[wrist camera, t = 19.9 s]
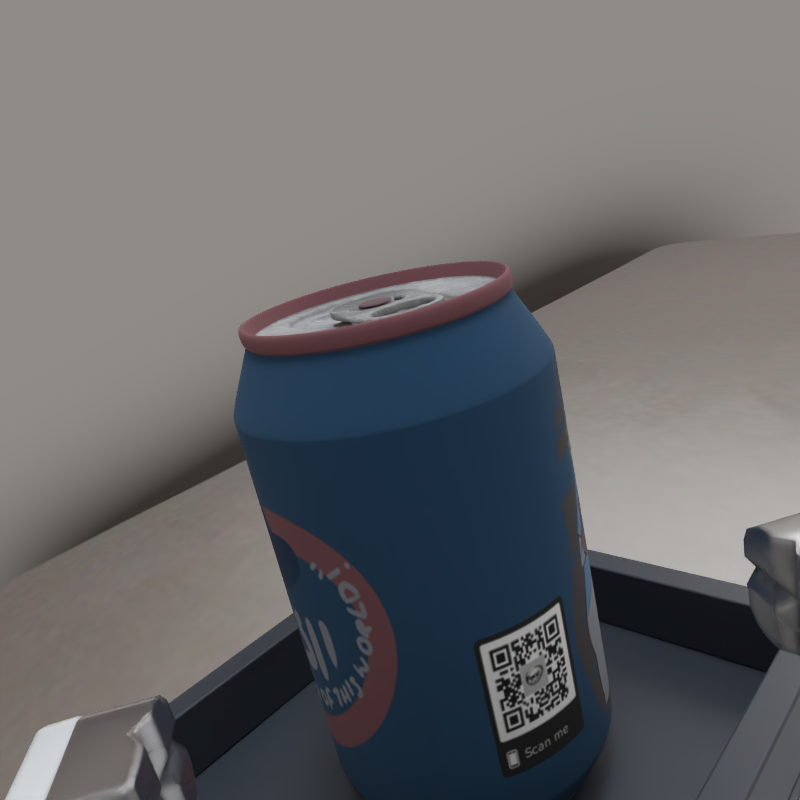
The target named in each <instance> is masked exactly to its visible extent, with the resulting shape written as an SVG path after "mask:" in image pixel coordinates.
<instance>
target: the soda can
mask: <svg viewBox="0 0 800 800" xmlns="http://www.w3.org/2000/svg"><path fill="white" fill-rule="evenodd" d="M512 284H513V278H512V273H511V270H510V268H509V267H508V266H507V265H506V264H503V263H500V262H492V261H469V262H456V263H447V264H440V265H433V266H426V267H420V268H414V269H408V270H403V271H399V272H394V273H388V274H384V275H379V276H375V277H370V278H366V279H362V280H358V281H354V282H350V283H346V284H342V285H339V286H335V287H332V288H329V289H325V290H321V291H318V292H315V293H312V294H308V295H305V296H302V297H300V298H297V299H294V300H291V301H288V302H285V303H283V304H280V305H278V306H275V307H273V308H271V309H268V310H266V311H264V312H262V313H260V314H258V315H256V316H254V317H252V318H250V319H249V320H247V321H246V322H244V323H243V324H242V325H241V326H240V327H239V337H240V340H241V343H242V344H243V346H244V347H245V348H246V349H245V355H244V360H243V365H242V370H241V375H240V380H239V385H238V391H237V396H236V402H235V409H234V422H235V425H236V428H237V431H238V435H239V438H240V441H241V444H242V448H243V451H244V454H245V457H246V461H247V464H248V467H249V470H250V474H251V477H252V480H253V483H254V486H255V490H256V493H257V496H258V499H259V503H260V506H261V509H262V512H263V516H264V519H265V522H266V525H267V528H268V532H269V535H270V538H271V541H272V545H273V548H274V551H275V554H276V557H277V561H278V564H279V567H280V570H281V574H282V577H283V580H284V583H285V587H286V590H287V593H288V596H289V599H290V603H291V606H292V609H293V612H294V616H295V619H296V622H297V625H298V629H299V632H300V635H301V638H302V641H303V645H304V648H305V651H306V654H307V658H308V661H309V664H310V667H311V671H312V674H313V677H314V680H315V683H316V687H317V690H318V693H319V696H320V700H321V703H322V706H323V709H324V712H325V716H326V719H327V722H328V725H329V729H330V732H331V735H332V738H333V742H334V745H335V748H336V751H337V754H338V758H339V761H340V763H341V766H342V768H343V770H344V772H345V774H346V776H347V778H348V779H349V781H350V782H351V784H352V785H353V786H354V787H355V789H356V790H357V791H358V792H359V793H360V794H361V795H362V796H363V797H364V798H365V799H366V800H570V799H571V798H572V797H573V795H574V794H575V792H576V791H577V790H578V788H579V787H580V785H581V784H582V783H583V781H584V780H585V778H586V777H587V775H588V774H589V772H590V771H591V769H592V768H593V766H594V764H595V762H596V761H597V759H598V757H599V755H600V753H601V751H602V749H603V746H604V744H605V741H606V738H607V735H608V732H609V727H610V723H611V714H612V701H611V693H610V687H609V681H608V675H607V668H606V662H605V656H604V650H603V644H602V638H601V632H600V626H599V619H598V613H597V607H596V601H595V595H594V589H593V583H592V577H591V570H590V564H589V558H588V552H587V546H586V540H585V534H584V528H583V522H582V515H581V509H580V503H579V497H578V491H577V485H576V479H575V473H574V466H573V460H572V454H571V448H570V442H569V436H568V430H567V424H566V417H565V411H564V405H563V399H562V393H561V387H560V381H559V375H558V368H557V362H556V356H555V350H554V346H553V343H552V342H551V340H550V338H549V337H548V336H547V334H546V333H545V331H544V330H543V329H542V327H541V326H540V325H539V323H538V322H537V321H536V319H535V318H534V317H533V315H532V314H531V313H530V312H529V310H528V309H527V307H526V306H525V305H524V304H523V302H522V301H521V300H520V298H519V297H518V296H517V294H516V293H515V292H514V291H513V289H512V288H511V287H512Z"/></svg>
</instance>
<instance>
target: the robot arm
mask: <svg viewBox="0 0 800 800" xmlns="http://www.w3.org/2000/svg"><path fill="white" fill-rule="evenodd" d="M744 553H745V557H746V558H747V559H748V560H749V561H750V562H752V563H753V564H754V565H755V566H756V568H755V570H754V572H753V574H752V575H751V577H750V579H749V581H748V583H747V588H748V596H749V604H750V607H751V609H752V612H753V614H754V617H755V619H756V621H757V624H758V625H759V627H760V628H761V630H762V631H763V632H764V634H765V635H766V637H767V638H768V639H769V640H770V641H771V642H772V643H773V644H774V645H775V646H776V647H778V648H779V649H780V650H783V651H786V652H789V653H792V654H795V655H798V656H800V513H798V514H794V515H791V516H788V517H784V518H781V519H778V520H775V521H771V522H768V523H765V524H761V525H758V526H755V527H751V528H748V529H747V530H746V533H745V537H744ZM174 725H175V718H174V716H173V713H172V711H171V709H170V706H169V704H168V702H167V700H166V699H165V698H163V697H162V696H160V695H158V696H154V697H151V698H147V699H143V700H139V701H135V702H131V703H128V704H124V705H120V706H116V707H112V708H109V709H105V710H101V711H97V712H93V713H90V714H86V715H84V716H78V717H74V718H71V719H68V720H64V721H61V722H57V723H54V724H50V725H47V726H45V727H43V728H42V729H40V730H39V731H38V732H37V733H36V735H35V737H34V739H33V741H32V743H31V745H30V748H29V750H28V752H27V754H26V756H25V758H24V760H23V762H22V764H21V767H20V769H19V771H18V773H17V775H16V777H15V779H14V781H13V783H12V786H11V788H10V790H9V792H8V794H7V796H6V798H5V800H197V790H196V779H195V775H194V770H193V766H192V762H191V759H190V757H189V754H188V751H187V749H186V747H184V746H183V745H181V744H179V743H178V742H176V741H174V740H173V739H172V735H173V730H174Z"/></svg>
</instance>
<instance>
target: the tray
mask: <svg viewBox="0 0 800 800" xmlns="http://www.w3.org/2000/svg"><path fill="white" fill-rule="evenodd" d="M587 552H588V558H589V564H590V570H591V577H592V583H593V589H594V595H595V601H596V607H597V613H598V619H599V626H600V632H601V638H602V644H603V650H604V656H605V662H606V668H607V675H608V681H609V687H610V693H611V701H612V714H611V723H610V727H609V732H608V735H607V738H606V741H605V744H604V746H603V749H602V751H601V753H600V755H599V757H598V759H597V761H596V762H595V764H594V766H593V768H592V769H591V771H590V772H589V774H588V775H587V777H586V778H585V780H584V781H583V783H582V784H581V785H580V787H579V788H578V790H577V791H576V792H575V794H574V795H573V797H572V798H571V799H570V800H798V799H799V797H800V656H798V655H795V654H792V653H789V652H786V651H783V650H780V649H779V648H778V647H776V646H775V645H774V644H773V643H772V642H771V641H770V640H769V639H768V638H767V637H766V635H765V634H764V632H763V631H762V630H761V628H760V627H759V625H758V624H757V621H756V619H755V617H754V614H753V612H752V609H751V607H750V604H749V596H748V588H747V587H746V586H742V585H737V584H733V583H729V582H725V581H720V580H716V579H712V578H707V577H703V576H699V575H695V574H690V573H686V572H682V571H677V570H673V569H669V568H665V567H660V566H656V565H652V564H647V563H643V562H639V561H635V560H630V559H626V558H622V557H617V556H613V555H609V554H605V553H600V552H596V551H592V550H587ZM169 706H170V709H171V711H172V713H173V716H174V718H175V725H174V730H173V735H172V739H173V740H174V741H176V742H178V743H179V744H181V745H183V746H184V747H186V749H187V751H188V754H189V757H190V759H191V762H192V766H193V770H194V775H195V779H196V790H197V800H366V799H365V798H364V797H363V796H362V795H361V794H360V793H359V792H358V791H357V790H356V789H355V787H354V786H353V785H352V784H351V782H350V781H349V779H348V778H347V776H346V774H345V772H344V770H343V768H342V766H341V763H340V761H339V758H338V754H337V751H336V748H335V745H334V742H333V738H332V735H331V732H330V729H329V725H328V722H327V719H326V716H325V712H324V709H323V706H322V703H321V700H320V696H319V693H318V690H317V687H316V683H315V680H314V677H313V674H312V671H311V667H310V664H309V661H308V658H307V654H306V651H305V648H304V645H303V641H302V638H301V635H300V632H299V629H298V625H297V622H296V619H295V616H294V613H293V614H291V615H290V616H289V617H287V618H286V619H284V620H283V621H282V622H280V623H279V624H278V625H276V626H275V627H273V628H272V629H271V630H269V631H268V632H266V633H265V634H264V635H262V636H261V637H260V638H258V639H257V640H255V641H254V642H253V643H251V644H250V645H249V646H247V647H246V648H244V649H243V650H242V651H240V652H239V653H238V654H236V655H235V656H233V657H232V658H231V659H229V660H228V661H227V662H225V663H224V664H222V665H221V666H220V667H218V668H217V669H216V670H214V671H213V672H211V673H210V674H209V675H207V676H206V677H205V678H203V679H202V680H200V681H199V682H198V683H196V684H195V685H194V686H192V687H191V688H189V689H188V690H187V691H185V692H184V693H183V694H181V695H180V696H178V697H177V698H176V699H174V700H173V701H172V702H170V703H169Z"/></svg>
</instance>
